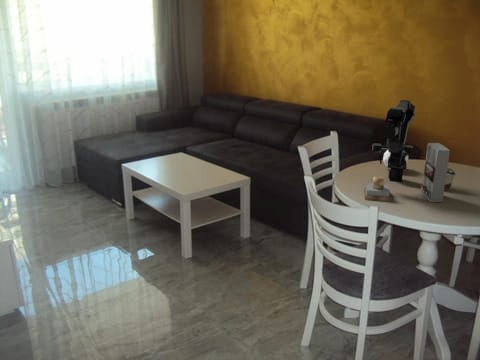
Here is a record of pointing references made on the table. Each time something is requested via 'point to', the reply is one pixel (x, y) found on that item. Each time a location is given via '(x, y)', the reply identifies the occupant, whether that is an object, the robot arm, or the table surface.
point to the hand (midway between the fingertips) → (390, 165)
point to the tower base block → (376, 197)
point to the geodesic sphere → (387, 155)
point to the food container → (449, 178)
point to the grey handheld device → (435, 172)
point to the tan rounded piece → (378, 182)
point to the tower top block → (377, 191)
